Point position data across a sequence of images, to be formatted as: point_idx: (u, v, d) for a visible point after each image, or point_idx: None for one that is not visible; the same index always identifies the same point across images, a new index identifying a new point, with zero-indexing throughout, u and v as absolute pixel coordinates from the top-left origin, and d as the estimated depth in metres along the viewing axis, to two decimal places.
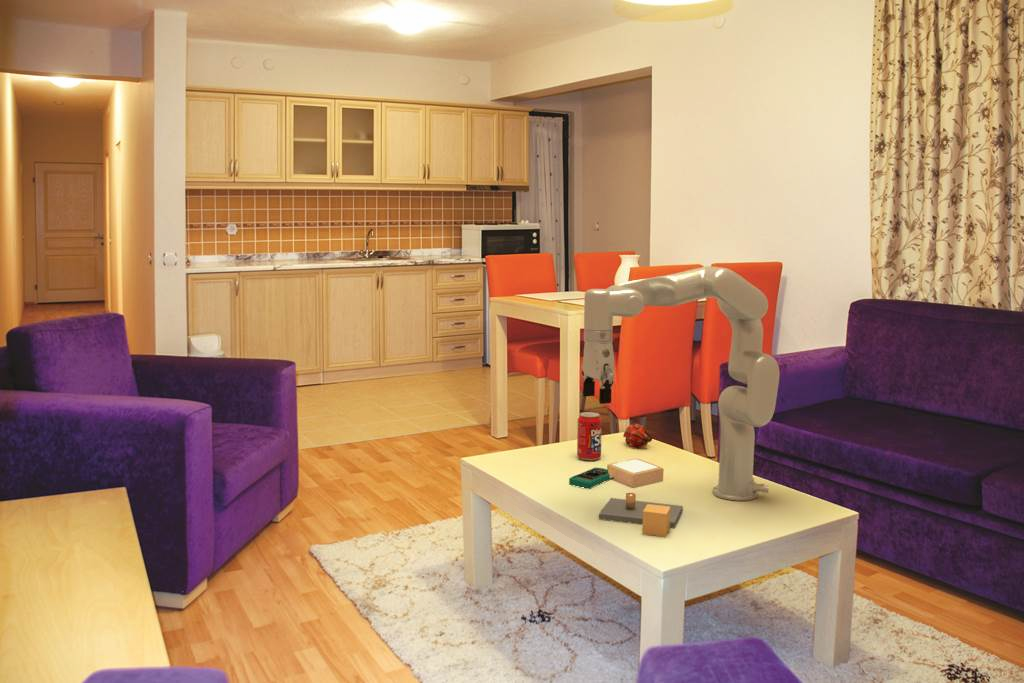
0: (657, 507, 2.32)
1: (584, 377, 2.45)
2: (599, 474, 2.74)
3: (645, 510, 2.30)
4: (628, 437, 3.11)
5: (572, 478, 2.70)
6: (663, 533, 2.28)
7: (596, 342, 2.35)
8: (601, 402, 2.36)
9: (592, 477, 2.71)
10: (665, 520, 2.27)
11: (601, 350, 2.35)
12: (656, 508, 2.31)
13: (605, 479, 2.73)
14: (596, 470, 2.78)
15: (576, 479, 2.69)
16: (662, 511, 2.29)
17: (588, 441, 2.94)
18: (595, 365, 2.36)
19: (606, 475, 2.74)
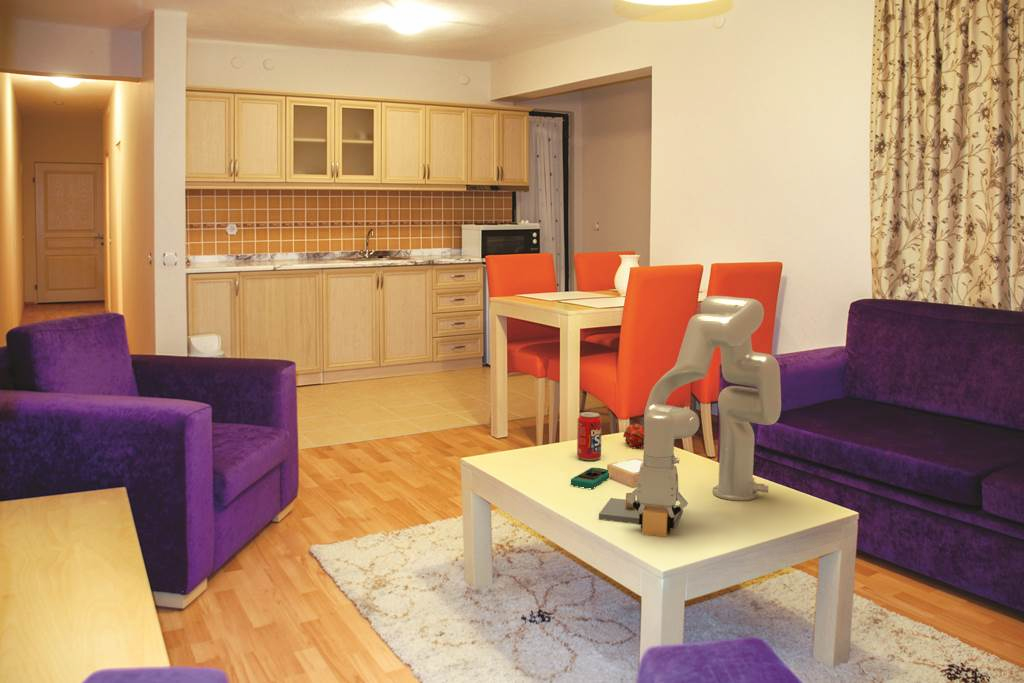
0: (657, 507, 2.32)
1: (641, 509, 2.31)
2: (598, 474, 2.74)
3: (645, 510, 2.30)
4: (628, 437, 3.11)
5: (574, 479, 2.69)
6: (663, 533, 2.28)
7: (669, 468, 2.26)
8: (669, 531, 2.29)
9: (593, 477, 2.71)
10: (665, 520, 2.27)
11: (675, 475, 2.27)
12: (656, 508, 2.31)
13: (605, 479, 2.74)
14: (594, 470, 2.78)
15: (578, 480, 2.68)
16: (662, 511, 2.29)
17: (588, 441, 2.94)
18: (669, 492, 2.27)
19: (605, 475, 2.74)
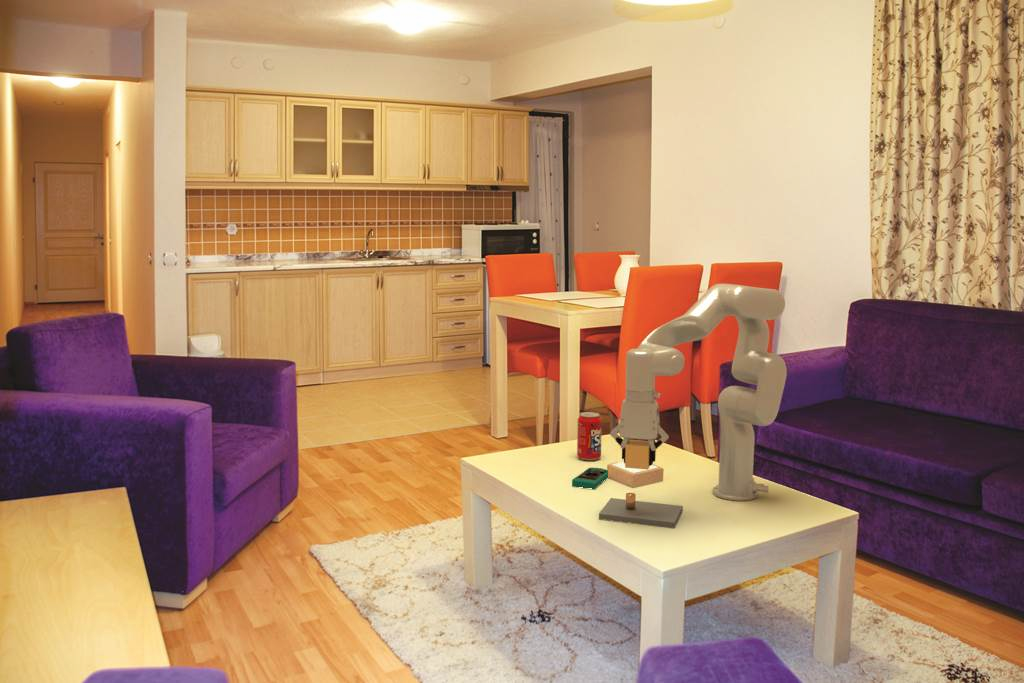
0: (639, 442, 2.40)
1: (624, 443, 2.38)
2: (598, 474, 2.74)
3: (628, 444, 2.37)
4: None
5: (575, 479, 2.68)
6: (645, 466, 2.36)
7: (650, 403, 2.34)
8: (651, 464, 2.37)
9: (594, 477, 2.70)
10: (647, 453, 2.35)
11: (656, 410, 2.35)
12: (638, 442, 2.39)
13: (604, 478, 2.74)
14: (592, 470, 2.78)
15: (580, 480, 2.67)
16: (644, 445, 2.36)
17: (588, 441, 2.94)
18: (650, 426, 2.35)
19: (605, 474, 2.74)
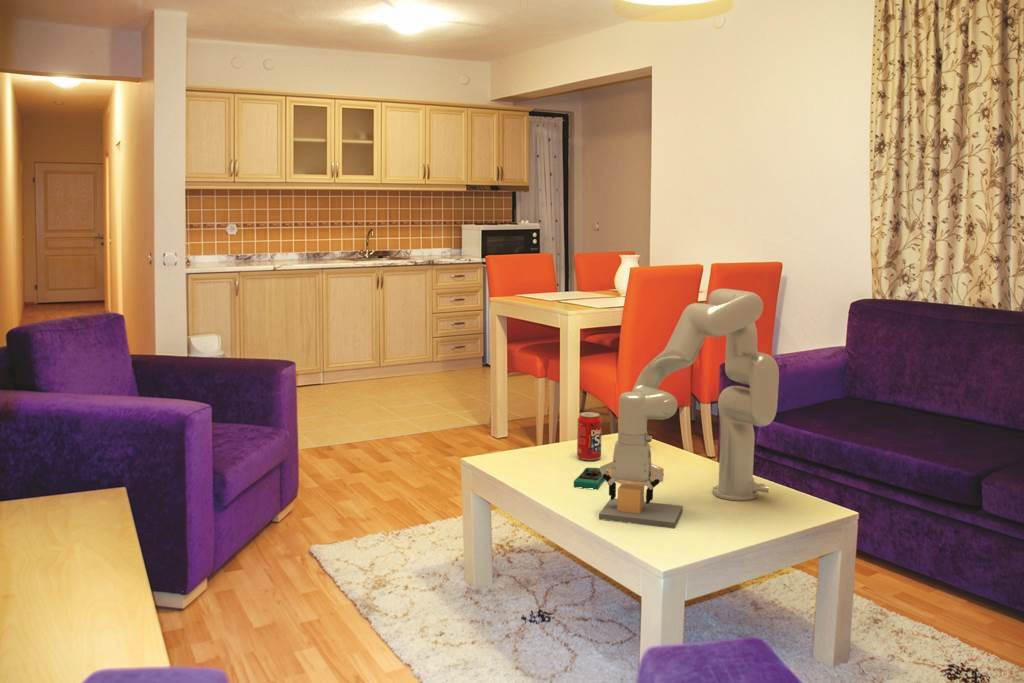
0: (631, 485, 2.45)
1: (611, 481, 2.44)
2: (597, 474, 2.74)
3: (620, 488, 2.43)
4: None
5: (577, 480, 2.67)
6: (637, 510, 2.41)
7: (642, 445, 2.39)
8: (648, 502, 2.41)
9: (594, 477, 2.70)
10: (638, 497, 2.40)
11: (647, 452, 2.40)
12: (630, 486, 2.44)
13: None
14: (590, 470, 2.78)
15: (582, 481, 2.67)
16: (636, 489, 2.42)
17: (588, 441, 2.94)
18: (642, 468, 2.40)
19: None
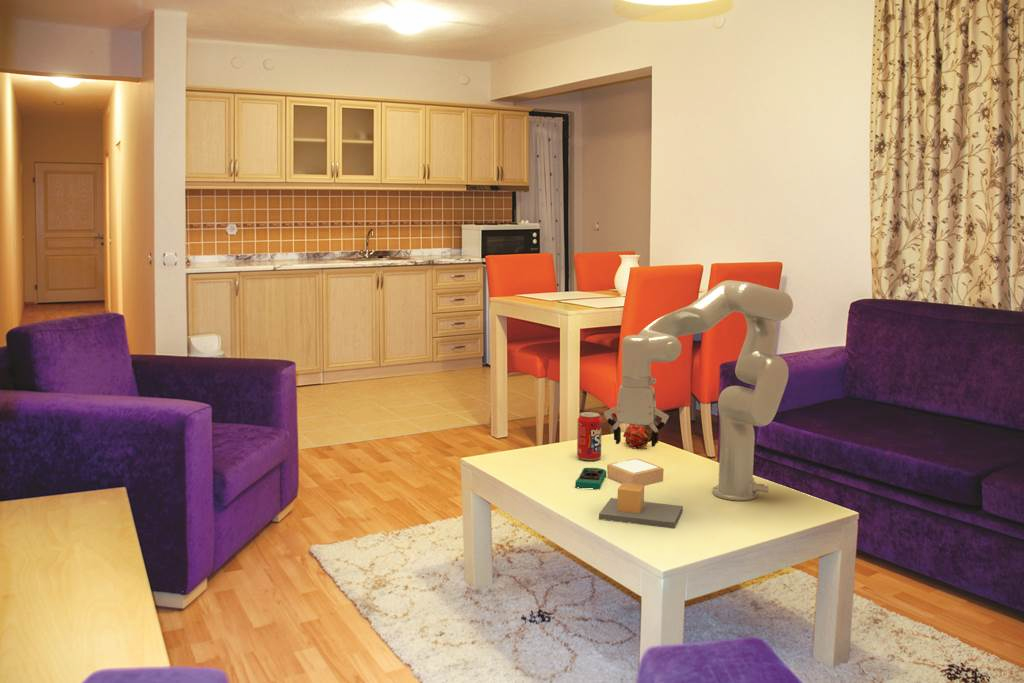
0: (631, 485, 2.45)
1: (616, 425, 2.43)
2: (597, 474, 2.74)
3: (620, 488, 2.43)
4: (628, 437, 3.11)
5: (579, 481, 2.67)
6: (637, 510, 2.41)
7: (646, 388, 2.38)
8: (654, 445, 2.41)
9: (595, 477, 2.70)
10: (638, 497, 2.40)
11: (652, 395, 2.39)
12: (630, 486, 2.44)
13: (603, 478, 2.74)
14: (589, 470, 2.78)
15: (584, 481, 2.66)
16: (636, 489, 2.42)
17: (588, 441, 2.94)
18: (647, 410, 2.39)
19: (603, 474, 2.75)
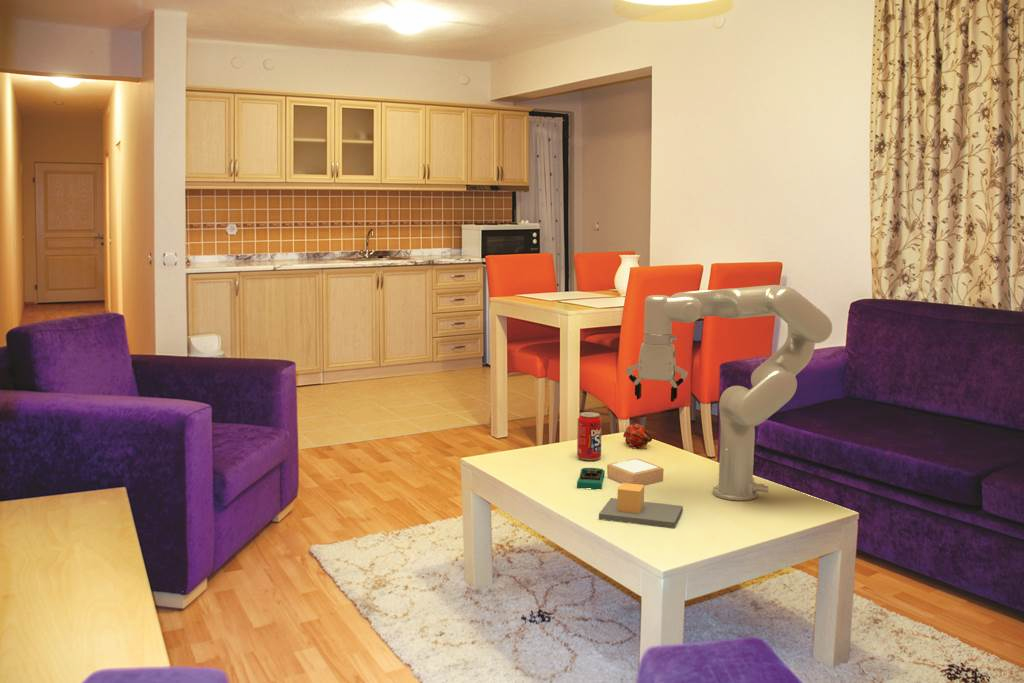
0: (631, 485, 2.45)
1: (637, 381, 2.55)
2: (596, 474, 2.74)
3: (620, 488, 2.43)
4: (628, 437, 3.11)
5: (581, 481, 2.67)
6: (637, 510, 2.41)
7: (667, 345, 2.50)
8: (673, 400, 2.53)
9: (596, 477, 2.70)
10: (638, 497, 2.40)
11: (672, 352, 2.51)
12: (630, 486, 2.44)
13: None
14: (587, 470, 2.78)
15: (586, 481, 2.66)
16: (636, 489, 2.42)
17: (588, 441, 2.94)
18: (667, 367, 2.51)
19: (603, 474, 2.75)
